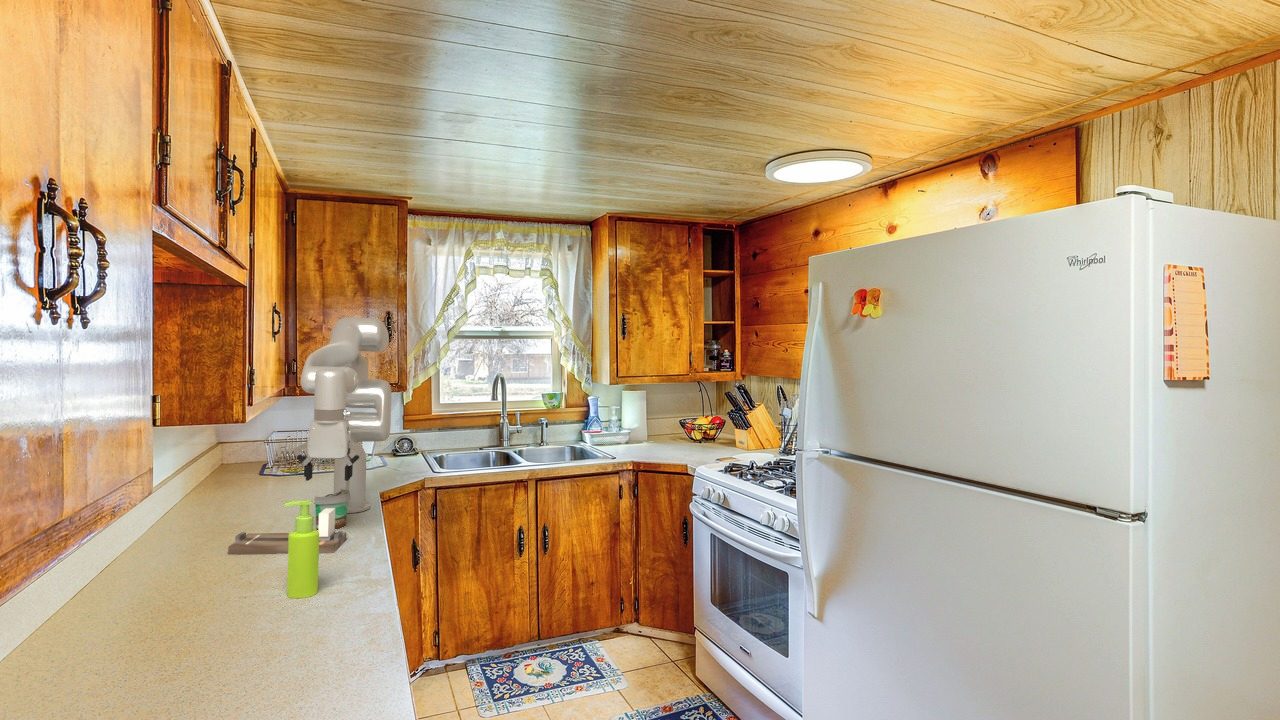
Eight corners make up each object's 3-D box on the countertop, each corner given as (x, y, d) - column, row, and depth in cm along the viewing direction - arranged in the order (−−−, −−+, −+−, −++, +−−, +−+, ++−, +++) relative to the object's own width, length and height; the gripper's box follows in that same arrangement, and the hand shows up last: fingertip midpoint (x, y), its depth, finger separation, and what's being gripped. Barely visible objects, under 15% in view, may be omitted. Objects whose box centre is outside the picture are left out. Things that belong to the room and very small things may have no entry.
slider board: (247, 540, 179) (248, 528, 179) (346, 539, 183) (346, 526, 183) (228, 554, 167) (228, 540, 167) (333, 552, 171) (334, 539, 171)
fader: (323, 534, 179) (324, 508, 179) (335, 534, 180) (336, 508, 180) (316, 541, 173) (317, 513, 173) (329, 541, 174) (329, 513, 174)
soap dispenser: (282, 590, 144) (285, 499, 144) (318, 587, 147) (320, 497, 146) (280, 600, 139) (282, 505, 138) (316, 596, 141) (319, 503, 141)
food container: (332, 533, 188) (333, 498, 188) (312, 531, 189) (313, 496, 189) (358, 523, 200) (359, 490, 200) (340, 521, 201) (341, 488, 201)
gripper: (367, 414, 181) (366, 476, 182) (299, 413, 178) (298, 476, 179) (360, 418, 174) (359, 482, 174) (289, 416, 171) (288, 482, 172)
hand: (328, 479), depth 177 cm, fingers open, 9 cm apart
